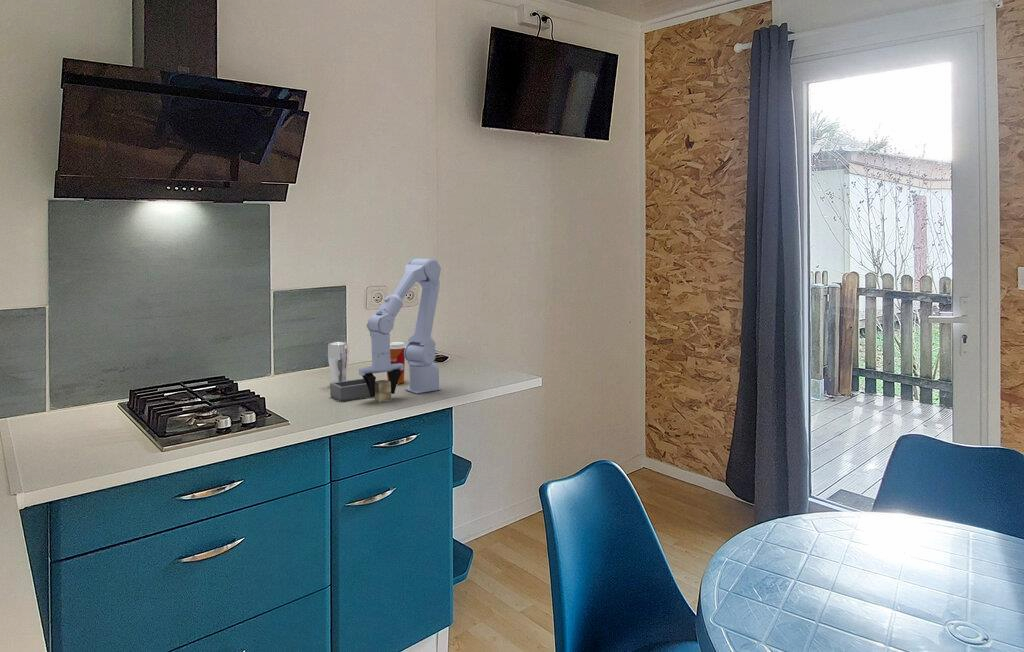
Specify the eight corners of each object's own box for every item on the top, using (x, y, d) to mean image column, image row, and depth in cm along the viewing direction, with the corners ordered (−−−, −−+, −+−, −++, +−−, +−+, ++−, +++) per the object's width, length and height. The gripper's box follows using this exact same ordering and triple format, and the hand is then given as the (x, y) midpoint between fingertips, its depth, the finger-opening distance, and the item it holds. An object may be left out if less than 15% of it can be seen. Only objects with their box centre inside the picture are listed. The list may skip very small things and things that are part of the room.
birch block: (385, 397, 220) (384, 379, 219) (391, 400, 217) (390, 381, 216) (374, 399, 218) (373, 381, 217) (379, 402, 215) (379, 383, 214)
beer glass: (325, 387, 235) (323, 344, 233) (337, 383, 242) (335, 341, 240) (341, 389, 233) (340, 345, 231) (354, 384, 239) (352, 342, 237)
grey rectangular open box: (367, 390, 230) (367, 377, 229) (378, 395, 223) (378, 382, 222) (330, 396, 222) (329, 383, 221) (341, 401, 215) (340, 387, 215)
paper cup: (380, 382, 242) (379, 343, 241) (399, 379, 248) (397, 340, 246) (392, 386, 237) (391, 346, 235) (411, 382, 242) (410, 343, 240)
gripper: (395, 348, 223) (397, 389, 225) (354, 353, 214) (355, 395, 216) (406, 351, 217) (407, 393, 219) (363, 356, 209) (365, 400, 210)
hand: (382, 394), depth 217 cm, fingers open, 6 cm apart
